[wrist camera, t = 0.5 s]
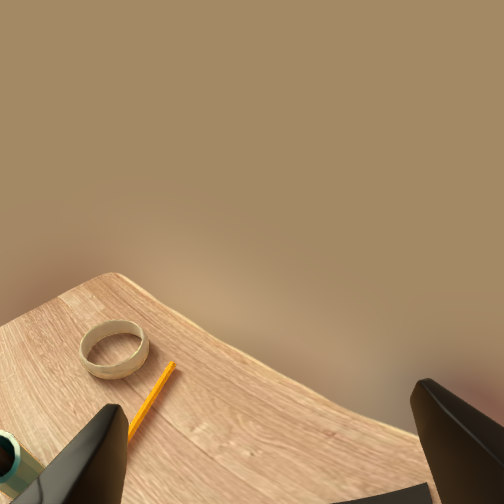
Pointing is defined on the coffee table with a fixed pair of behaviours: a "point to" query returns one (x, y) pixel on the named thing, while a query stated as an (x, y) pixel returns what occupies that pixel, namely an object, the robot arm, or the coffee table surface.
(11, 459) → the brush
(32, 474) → the pot
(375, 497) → the mat
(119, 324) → the ring
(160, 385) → the pencil
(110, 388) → the coffee table surface
